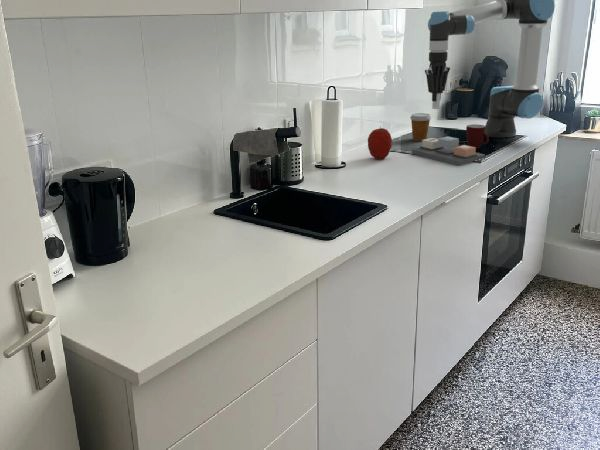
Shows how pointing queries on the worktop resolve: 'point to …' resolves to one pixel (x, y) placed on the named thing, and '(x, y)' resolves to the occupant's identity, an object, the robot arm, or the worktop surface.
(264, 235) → the worktop surface
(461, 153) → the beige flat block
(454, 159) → the keypad base
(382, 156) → the apple
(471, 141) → the mug
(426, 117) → the disposable coffee cup
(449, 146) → the key slate
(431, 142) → the key cream
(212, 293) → the worktop surface
